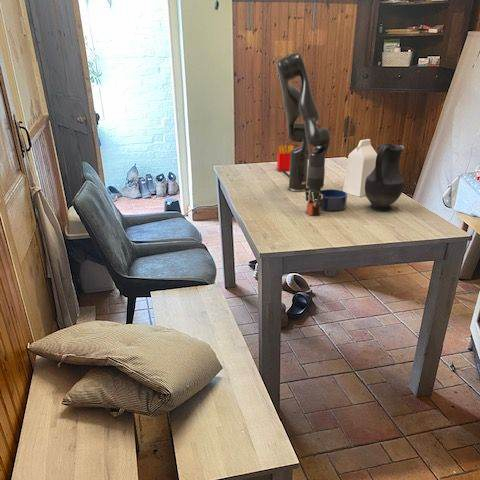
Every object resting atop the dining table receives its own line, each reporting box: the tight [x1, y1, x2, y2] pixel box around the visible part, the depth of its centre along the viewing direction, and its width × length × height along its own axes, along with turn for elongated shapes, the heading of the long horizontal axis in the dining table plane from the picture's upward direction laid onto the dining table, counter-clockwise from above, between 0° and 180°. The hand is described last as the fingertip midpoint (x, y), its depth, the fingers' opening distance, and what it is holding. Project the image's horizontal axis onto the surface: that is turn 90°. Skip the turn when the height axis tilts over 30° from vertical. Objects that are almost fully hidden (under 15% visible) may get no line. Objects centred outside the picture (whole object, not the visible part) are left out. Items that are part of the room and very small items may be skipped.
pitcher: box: [365, 143, 405, 212], centre depth 227 cm, size 17×21×30 cm
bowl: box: [315, 188, 348, 212], centre depth 236 cm, size 14×14×6 cm
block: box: [306, 202, 321, 216], centre depth 229 cm, size 4×4×4 cm
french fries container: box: [276, 144, 295, 172], centre depth 296 cm, size 7×9×14 cm
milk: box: [342, 138, 378, 198], centre depth 252 cm, size 12×12×26 cm
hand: (313, 212), depth 230 cm, fingers closed on block, 4 cm apart
